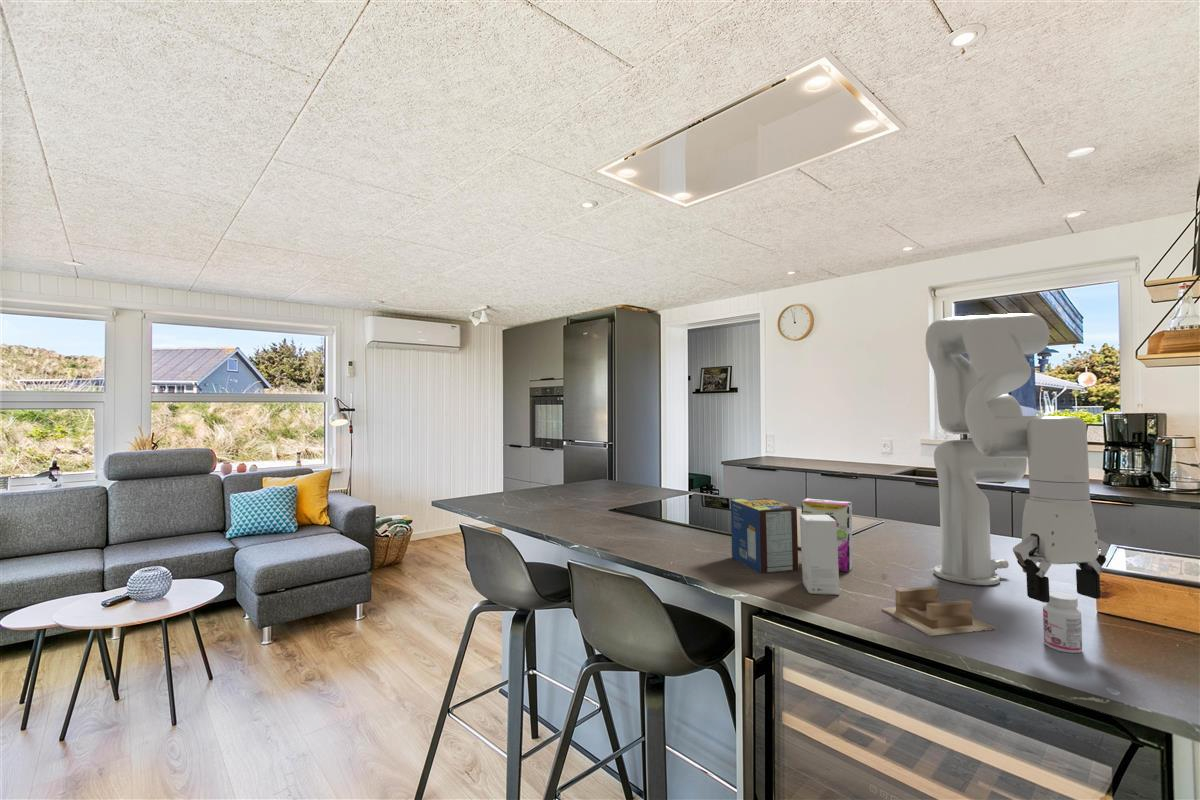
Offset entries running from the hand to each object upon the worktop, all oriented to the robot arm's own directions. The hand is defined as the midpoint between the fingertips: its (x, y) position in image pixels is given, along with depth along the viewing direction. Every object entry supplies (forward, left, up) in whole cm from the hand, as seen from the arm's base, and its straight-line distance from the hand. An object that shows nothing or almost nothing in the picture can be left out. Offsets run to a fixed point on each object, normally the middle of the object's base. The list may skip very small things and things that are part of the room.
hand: (1063, 598), depth 87 cm
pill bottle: (0, -1, -8) cm, 8 cm away
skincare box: (+22, -35, -8) cm, 42 cm away
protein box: (+25, -55, -9) cm, 61 cm away
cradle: (+11, -15, -8) cm, 20 cm away
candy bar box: (+11, -49, -8) cm, 50 cm away
